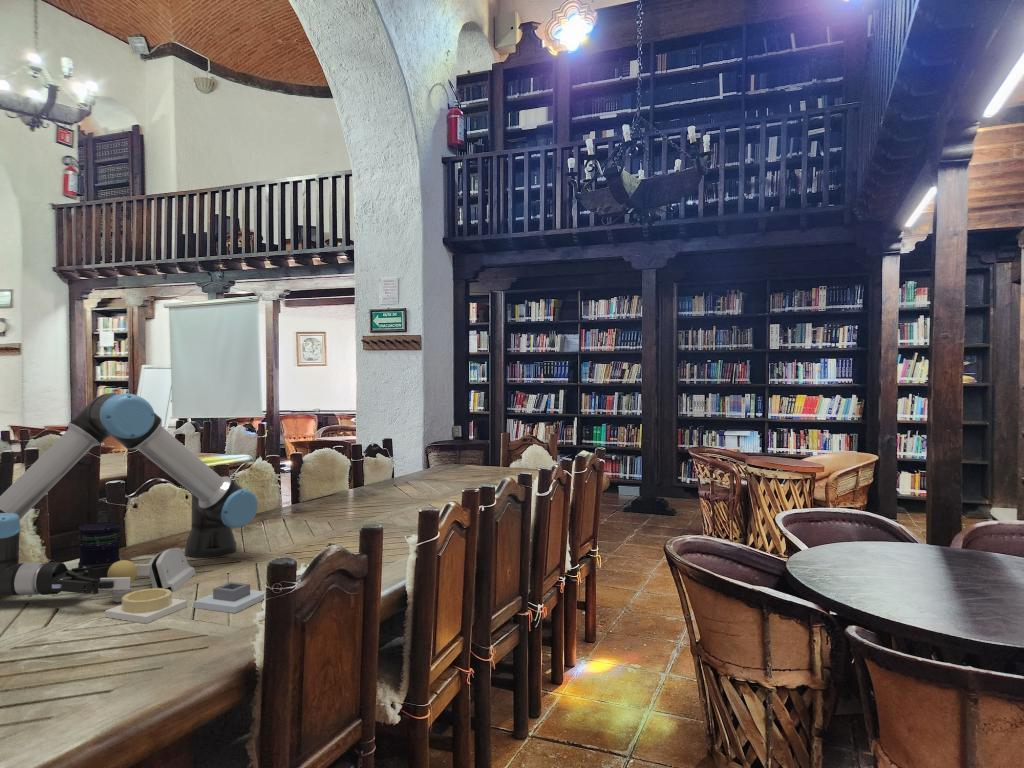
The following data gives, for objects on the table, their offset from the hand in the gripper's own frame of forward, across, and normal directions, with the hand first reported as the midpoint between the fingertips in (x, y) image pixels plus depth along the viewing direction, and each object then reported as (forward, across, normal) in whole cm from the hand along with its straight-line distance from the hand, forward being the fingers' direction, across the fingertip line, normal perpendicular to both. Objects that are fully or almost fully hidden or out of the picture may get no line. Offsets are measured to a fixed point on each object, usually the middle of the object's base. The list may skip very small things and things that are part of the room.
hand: (139, 576), depth 161 cm
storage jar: (-18, -18, -6) cm, 26 cm away
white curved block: (+2, -15, -6) cm, 16 cm away
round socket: (+5, +9, -6) cm, 12 cm away
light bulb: (-4, 0, -6) cm, 7 cm away
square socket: (+23, +4, -6) cm, 24 cm away
